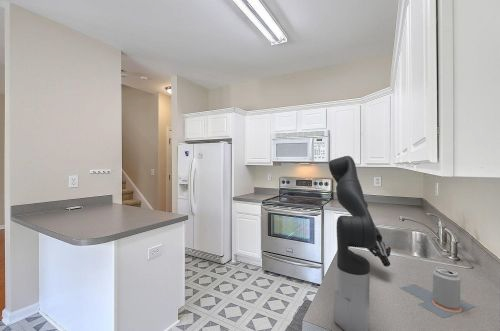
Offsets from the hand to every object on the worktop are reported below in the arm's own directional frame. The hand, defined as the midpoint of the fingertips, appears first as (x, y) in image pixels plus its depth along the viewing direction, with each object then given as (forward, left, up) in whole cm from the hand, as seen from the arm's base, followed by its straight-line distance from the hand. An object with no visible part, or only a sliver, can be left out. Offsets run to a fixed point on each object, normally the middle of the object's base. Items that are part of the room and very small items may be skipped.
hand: (387, 265), depth 98 cm
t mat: (+4, -14, -7) cm, 17 cm away
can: (+5, -19, -7) cm, 21 cm away
